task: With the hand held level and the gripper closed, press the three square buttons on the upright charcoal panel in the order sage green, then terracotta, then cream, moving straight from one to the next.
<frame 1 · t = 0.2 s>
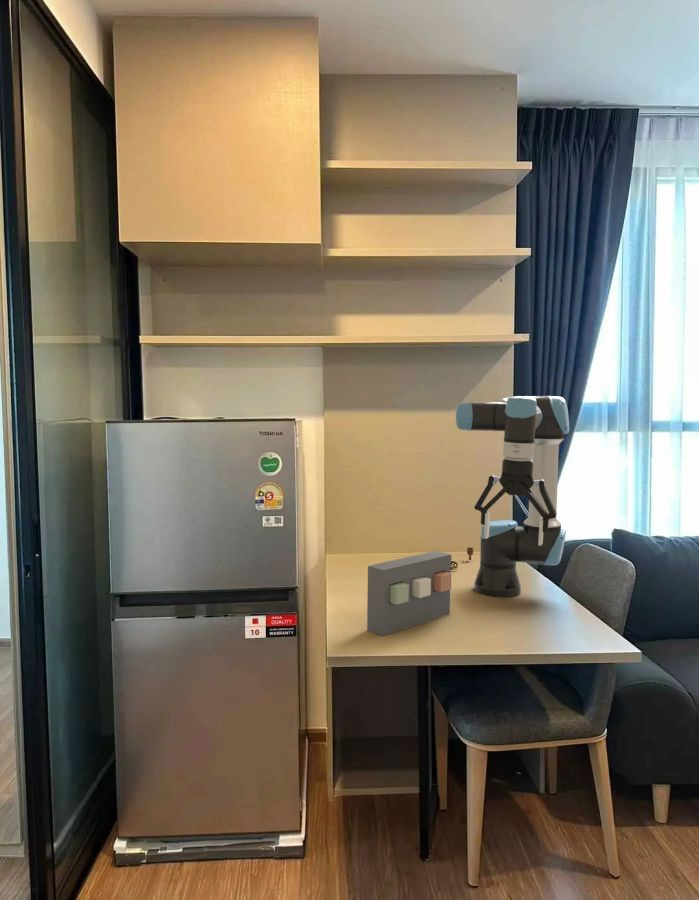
hand: (513, 540, 170), 27 cm above the table, tool pointing down, fingers open, 13 cm apart
cream button: (417, 586, 186), point 11 cm above the table, slide at 0.0 cm
terracotta button: (438, 580, 192), point 11 cm above the table, slide at 0.0 cm
sage green button: (395, 592, 180), point 11 cm above the table, slide at 0.0 cm
button panel: (412, 622, 188), on the table
place setting: (452, 567, 254), on the table
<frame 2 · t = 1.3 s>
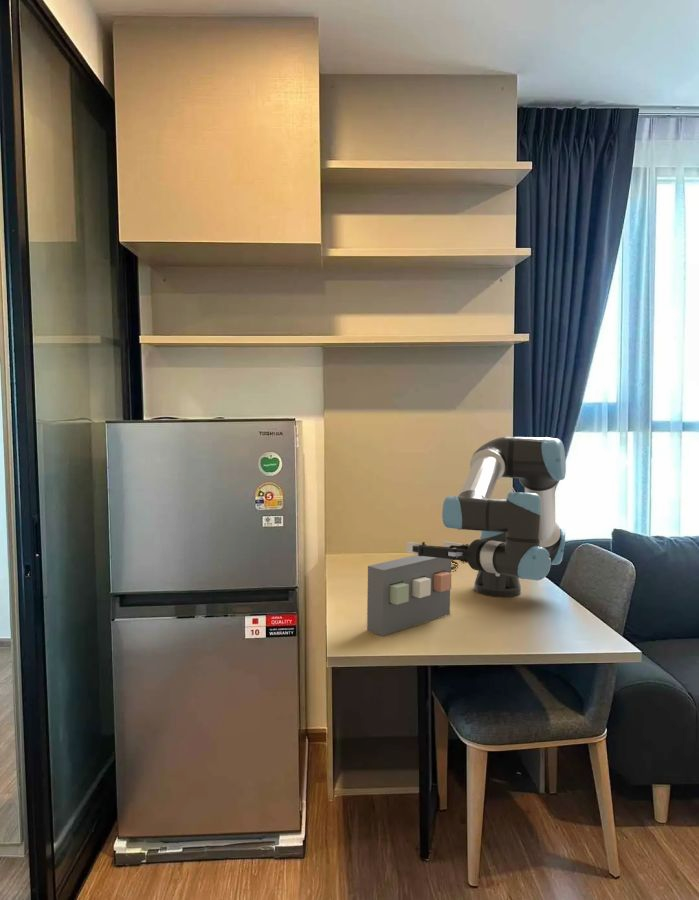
hand: (426, 546, 175), 25 cm above the table, tool horizontal, fingers open, 13 cm apart
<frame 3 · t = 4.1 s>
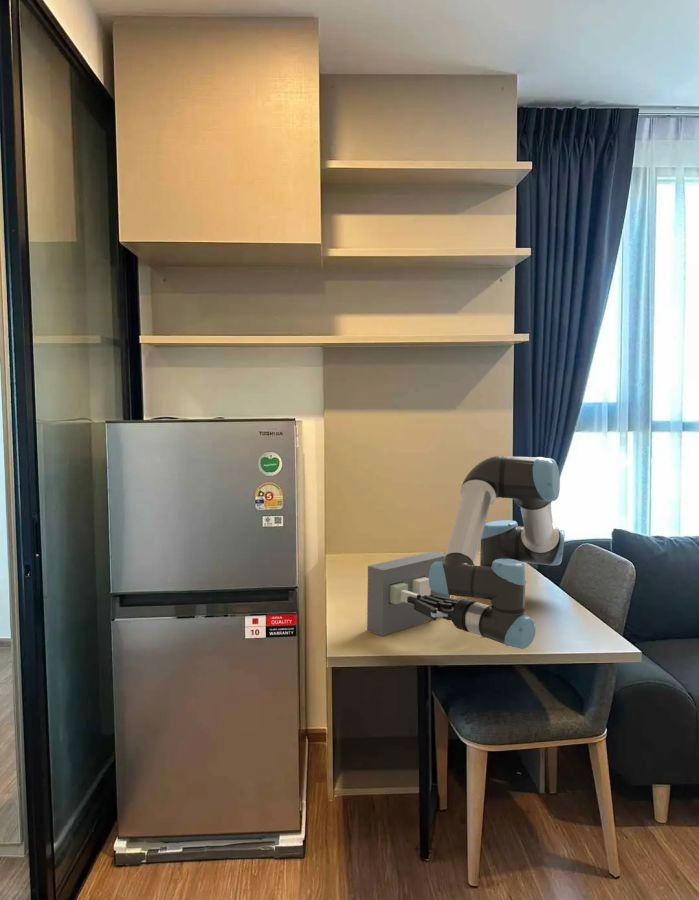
hand: (402, 595, 178), 11 cm above the table, tool horizontal, fingers closed
sage green button: (394, 592, 181), point 11 cm above the table, slide at 0.3 cm, touching gripper
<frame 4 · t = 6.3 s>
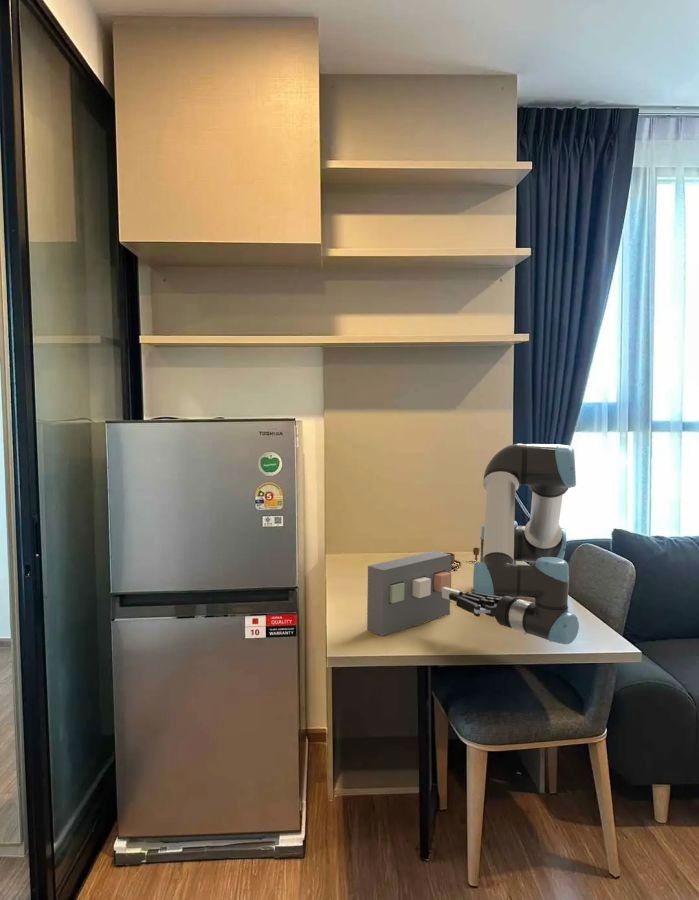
hand: (443, 592, 183), 10 cm above the table, tool horizontal, fingers closed
sage green button: (391, 591, 182), point 11 cm above the table, slide at 1.6 cm
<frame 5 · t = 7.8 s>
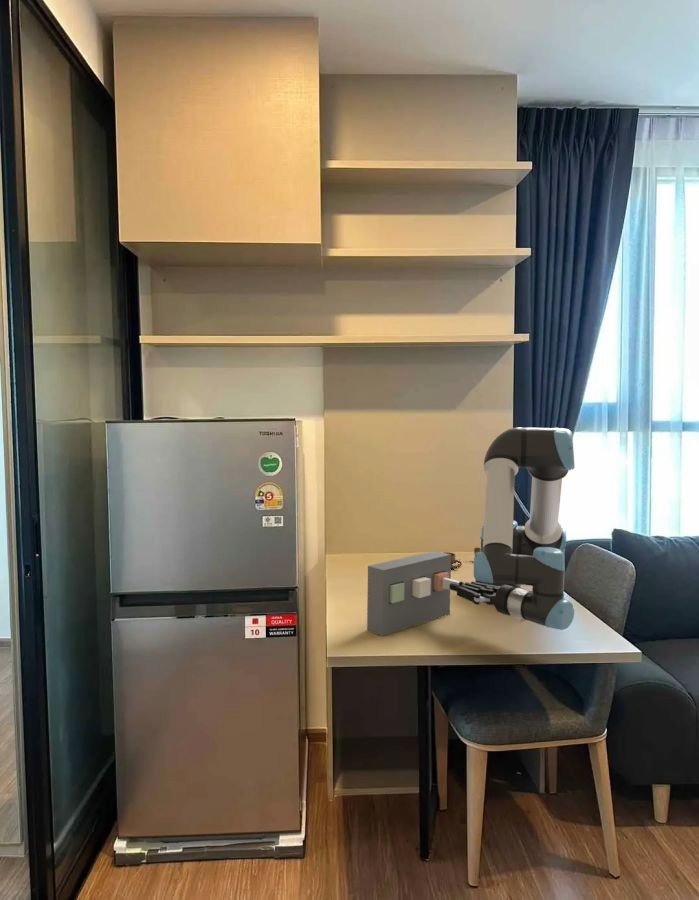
hand: (444, 582, 191), 11 cm above the table, tool horizontal, fingers closed
terracotta button: (436, 580, 193), point 11 cm above the table, slide at 0.9 cm, touching gripper
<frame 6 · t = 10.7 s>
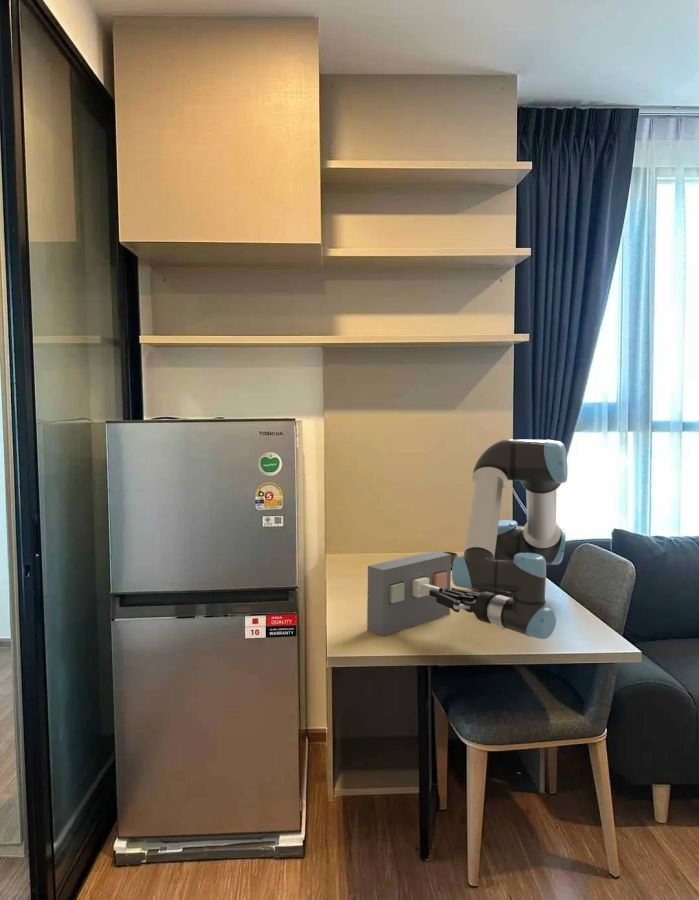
hand: (424, 588, 184), 11 cm above the table, tool horizontal, fingers closed
cream button: (416, 585, 187), point 11 cm above the table, slide at 0.5 cm, touching gripper
terracotta button: (434, 579, 194), point 11 cm above the table, slide at 1.6 cm
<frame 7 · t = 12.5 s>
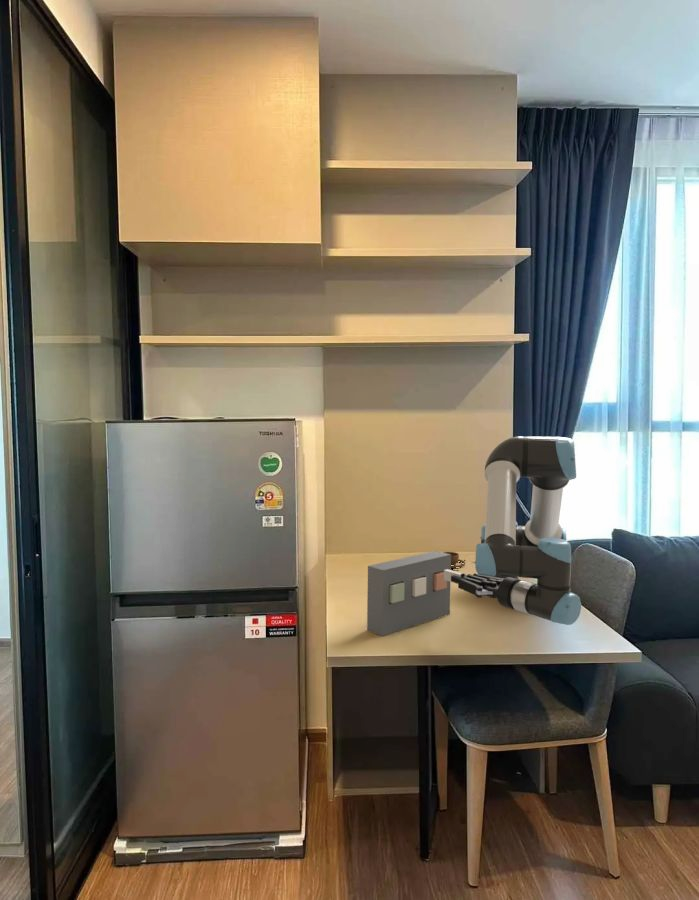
hand: (445, 574, 183), 15 cm above the table, tool horizontal, fingers closed
cream button: (413, 585, 188), point 11 cm above the table, slide at 1.6 cm
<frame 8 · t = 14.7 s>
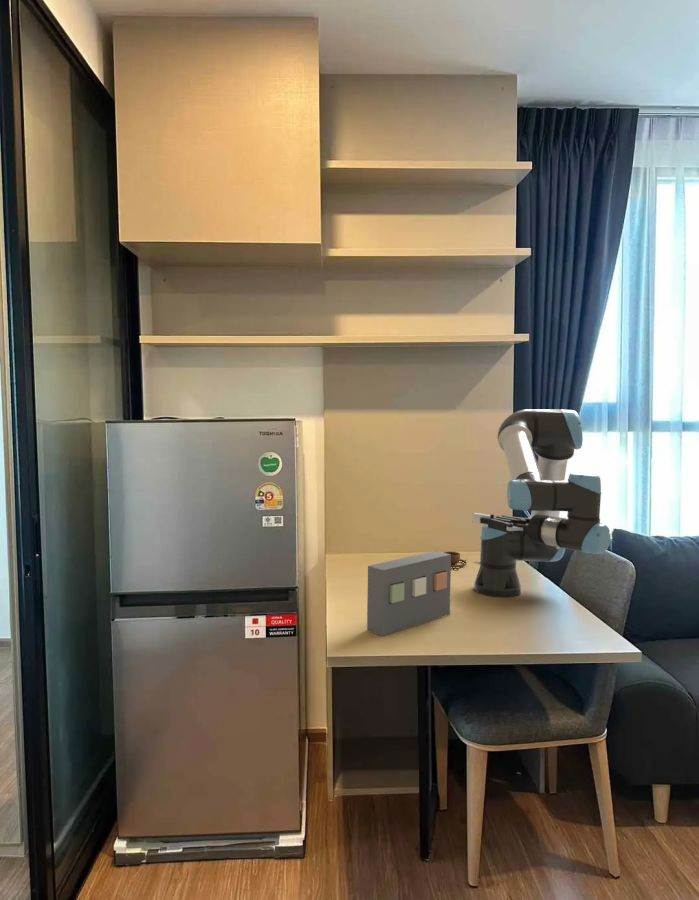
hand: (474, 517, 188), 30 cm above the table, tool horizontal, fingers closed
at the end: sage green button slide at 1.6 cm; terracotta button slide at 1.6 cm; cream button slide at 1.6 cm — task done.
